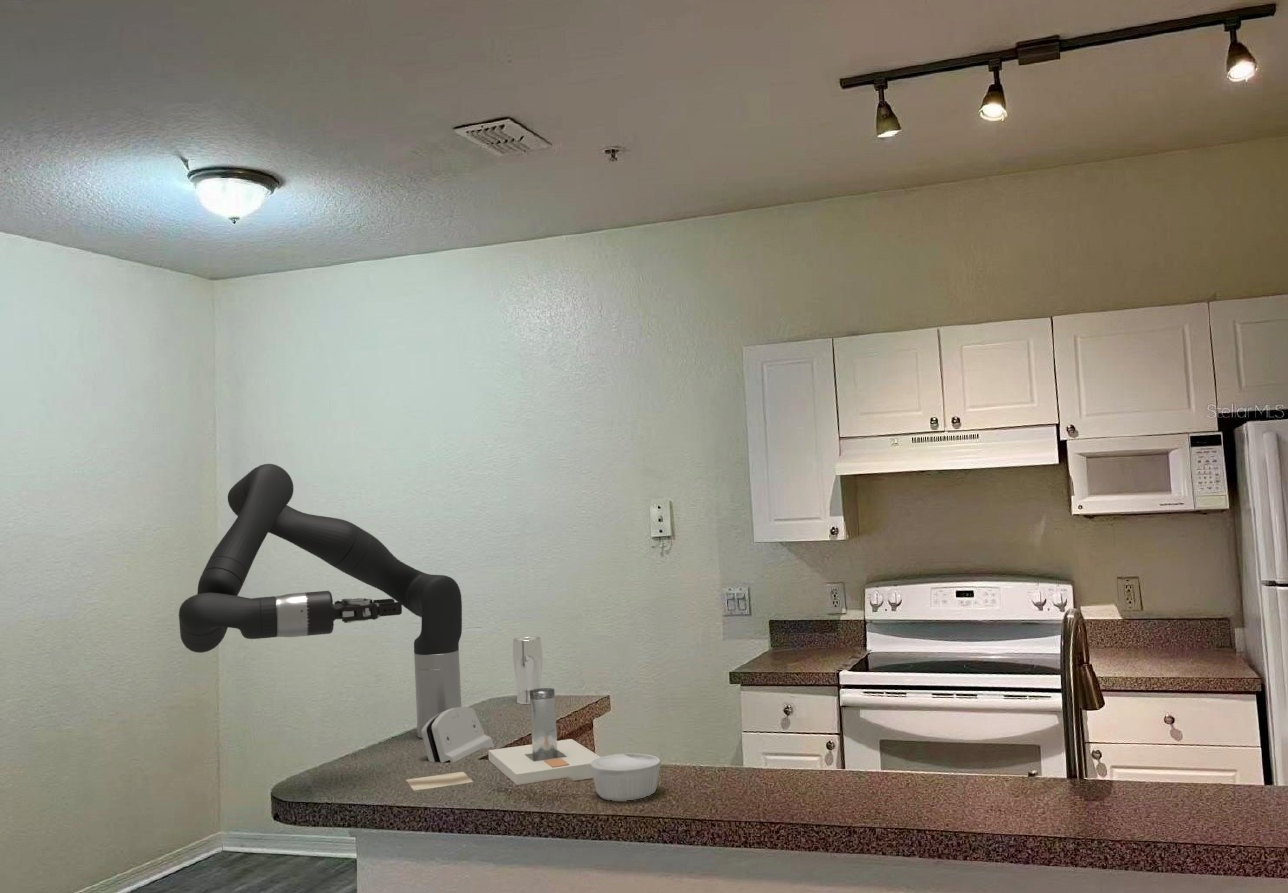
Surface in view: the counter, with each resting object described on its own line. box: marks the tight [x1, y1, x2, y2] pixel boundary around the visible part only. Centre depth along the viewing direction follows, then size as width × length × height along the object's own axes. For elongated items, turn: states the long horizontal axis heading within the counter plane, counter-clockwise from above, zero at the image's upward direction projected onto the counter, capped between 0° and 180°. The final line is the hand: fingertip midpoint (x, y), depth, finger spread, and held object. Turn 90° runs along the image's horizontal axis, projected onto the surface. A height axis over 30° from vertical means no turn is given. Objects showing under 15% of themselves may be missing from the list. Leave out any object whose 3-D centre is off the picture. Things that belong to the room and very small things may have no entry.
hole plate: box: [487, 738, 601, 786], centre depth 192 cm, size 20×16×3 cm
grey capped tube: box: [529, 687, 558, 762], centre depth 192 cm, size 4×4×14 cm
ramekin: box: [590, 752, 662, 802], centre depth 174 cm, size 11×11×5 cm
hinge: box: [422, 706, 495, 763], centre depth 206 cm, size 17×5×10 cm, turn 161°
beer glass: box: [512, 636, 543, 705], centre depth 258 cm, size 7×7×15 cm
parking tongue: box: [405, 771, 474, 792], centre depth 185 cm, size 8×10×1 cm
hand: (397, 606), depth 195 cm, fingers open, 8 cm apart
